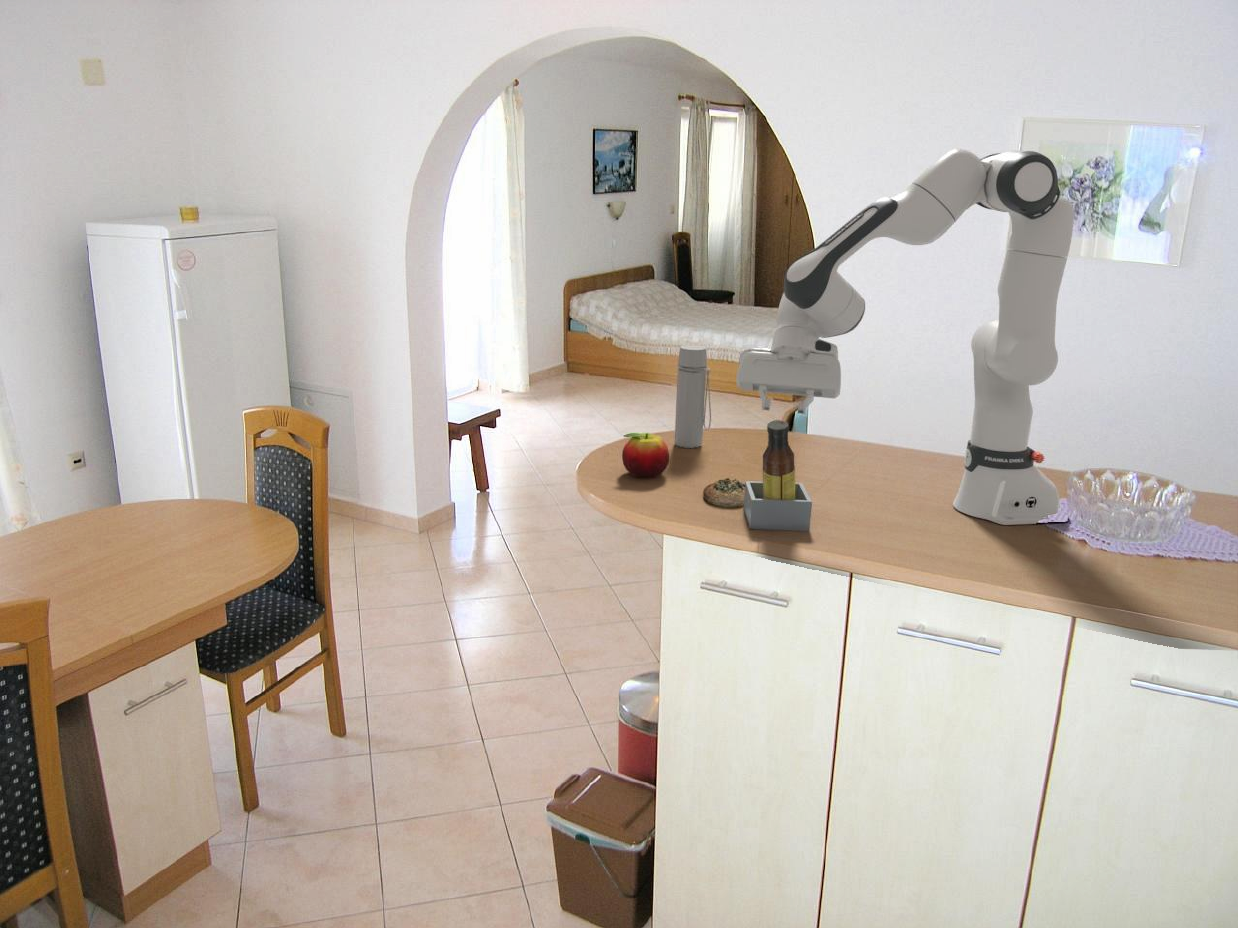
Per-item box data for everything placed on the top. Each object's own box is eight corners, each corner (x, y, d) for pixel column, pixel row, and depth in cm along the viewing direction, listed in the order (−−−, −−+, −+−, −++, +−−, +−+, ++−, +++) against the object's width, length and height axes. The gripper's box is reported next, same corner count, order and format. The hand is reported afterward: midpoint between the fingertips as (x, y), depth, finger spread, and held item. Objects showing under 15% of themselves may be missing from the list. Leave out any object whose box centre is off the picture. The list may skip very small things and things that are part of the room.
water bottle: (669, 447, 238) (673, 348, 231) (679, 439, 245) (683, 343, 238) (704, 452, 235) (709, 352, 228) (713, 444, 242) (719, 347, 235)
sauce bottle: (793, 504, 192) (796, 416, 182) (796, 521, 186) (800, 430, 177) (760, 505, 192) (761, 417, 183) (763, 522, 187) (764, 432, 177)
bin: (799, 510, 196) (802, 482, 194) (809, 530, 185) (812, 501, 183) (743, 508, 196) (745, 481, 194) (749, 529, 185) (751, 499, 183)
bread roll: (709, 487, 209) (713, 466, 207) (758, 501, 206) (762, 480, 204) (694, 504, 199) (698, 482, 197) (745, 519, 196) (750, 497, 194)
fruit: (673, 481, 212) (674, 438, 209) (625, 482, 211) (626, 439, 208) (663, 467, 222) (665, 425, 220) (617, 468, 221) (618, 426, 218)
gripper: (740, 338, 189) (728, 396, 183) (845, 346, 184) (837, 406, 178) (742, 356, 195) (731, 413, 189) (844, 364, 190) (836, 423, 183)
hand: (783, 410), depth 183 cm, fingers open, 5 cm apart
